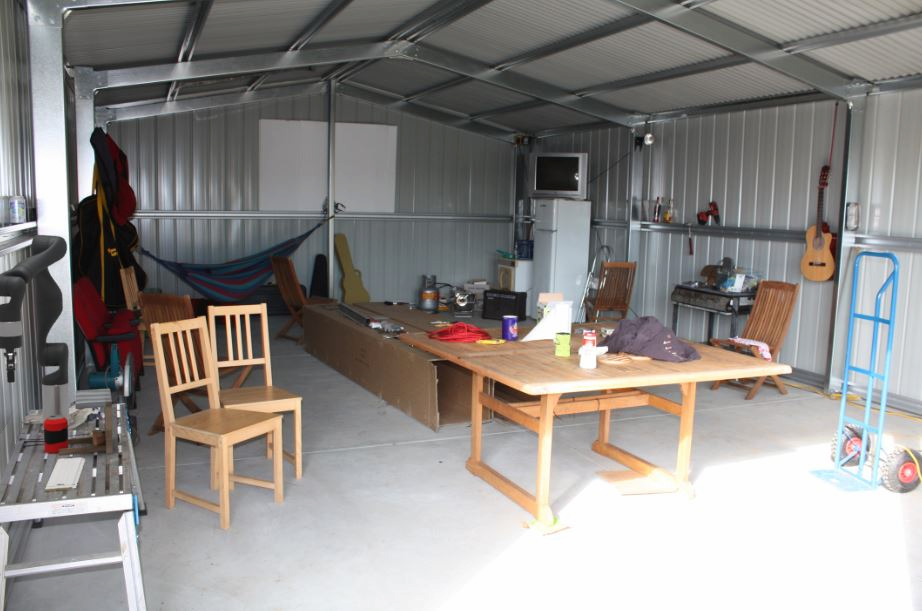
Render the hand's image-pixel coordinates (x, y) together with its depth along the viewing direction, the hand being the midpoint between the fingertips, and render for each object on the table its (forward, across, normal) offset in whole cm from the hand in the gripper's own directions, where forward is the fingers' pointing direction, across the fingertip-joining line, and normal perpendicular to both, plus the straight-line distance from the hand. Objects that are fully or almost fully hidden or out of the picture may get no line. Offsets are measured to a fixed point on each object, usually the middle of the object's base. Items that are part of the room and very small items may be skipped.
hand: (10, 379), depth 272 cm
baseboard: (+27, -32, -15) cm, 45 cm away
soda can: (+26, -3, -14) cm, 30 cm away
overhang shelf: (+26, -4, -24) cm, 35 cm away
